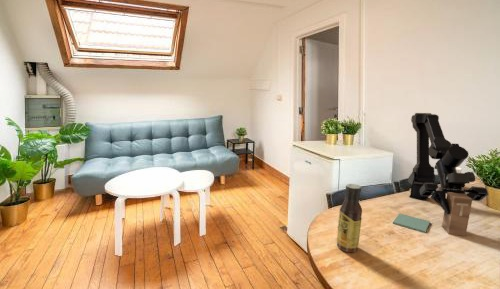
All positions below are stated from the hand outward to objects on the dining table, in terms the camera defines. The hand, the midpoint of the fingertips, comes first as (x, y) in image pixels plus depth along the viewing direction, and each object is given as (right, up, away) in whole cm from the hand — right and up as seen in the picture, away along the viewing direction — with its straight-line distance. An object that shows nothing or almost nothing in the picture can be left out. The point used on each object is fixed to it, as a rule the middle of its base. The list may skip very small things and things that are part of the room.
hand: (458, 214), depth 88 cm
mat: (-11, -5, +8) cm, 14 cm away
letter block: (0, -6, +3) cm, 7 cm away
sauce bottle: (-40, -8, -8) cm, 42 cm away
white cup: (+35, +2, +50) cm, 61 cm away
